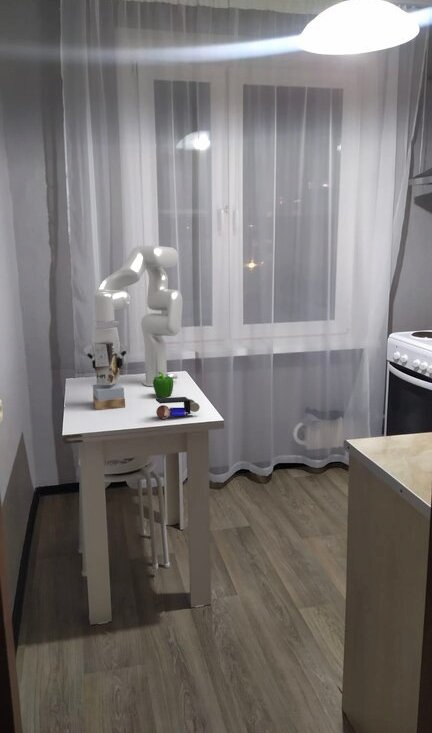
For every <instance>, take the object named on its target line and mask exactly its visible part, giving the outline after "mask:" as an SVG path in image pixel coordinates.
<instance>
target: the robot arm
mask: <svg viewBox="0 0 432 733" xmlns="http://www.w3.org/2000/svg"><path fill="white" fill-rule="evenodd" d="M178 263H179V253H178V251H177V250H176V249H175V247H170V246H163V245H162V246H161V245H138V246H135V247H134V248H132V250H131V252H130V254H129V255H128V257H127V259H126V260H125V261H124V263H123V265H122V267H121V268H120V269H118V270H116V271H115V272H113V273H112V274H110V275H109V276H107V277H105V279H104V280H103V281H102V282H101V283H100V285H98V287H97V289H96V291H95V293H94V294H93V297H92V298H93V300H92V301H93V312H94V314H93V315H94V328H93V330H92V336H91V337H92V339H91V340H92V344H89V345H88V346H87V347H85V348H84V349H83V352H84V353H85V354H86V356H87V357H88V358H89V359H90V360H91V361H92V362H91V363H92V369H94V371H95V372H96V365H95V345H94V344H100V343H113V348H114V354H117V355H118V368H119V370H120V369H122V366H123V357H124V356H125V355H126V354H127V352H128V350H129V349H130V348H129V346H128V345H127V344H124V343H122V342H120V337H119V331H118V327H117V325H118V326H119V325H120V323H119V320H116V319H115V318H116V317H115V310H119V311H120V310H126V309H127V308H128V307H129V306H130V304H131V296H130V294H129V293H128V292H127V291H125V290H123V288H126V287H130V286H132V285H134V284H136V283H138V282H139V281H140V279H141V277H142V276H143V274H144V272H145V270H146V272H147V275H148V289H147V296H146V304H147V307H148V309H149V310H151V311H156V312H157V311H159V312H167V313H151V312H150V313H147V314H145V315H144V316H143V317H142V318H141V322H140V326H141V331H142V336H143V343H144V344H143V347H144V349H143V350H144V370H145V379H144V380H142V382H141V383H142V385H143V386H145V387H153V388H154V386H153V380H154V377H159V376H162V375H161V374H159V372H162V373H163V374H164V377H167V376H170V377H171V378H172V379H173V380H174V379H175V380H176V379H178V374H177V373H176V374H175V373H168V370H167V369H168V368H167V345H166V342H165V339H164V337H175V336H177V335H178V334H179V332H180V330H181V323H182V315H183V305H184V304H183V296H182V293H181V292H180V291H179V290H177V289H170V288H169V287H168V286H169V277H168V275H167V274H168V273H167V272H166V271H165V268H168V269H169V268H174V267H175V266H177V265H178ZM168 288H169V289H168ZM121 348H123V351H121ZM90 350H92V351H93V354H91V352H90Z"/></svg>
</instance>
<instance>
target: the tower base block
mask: <svg viewBox="0 0 432 733" xmlns="http://www.w3.org/2000/svg"><path fill="white" fill-rule="evenodd" d="M125 400H126V398H125V397H124V398H118V399H110V400H102V401H98V400H97V399H96V397H95V396H94V395H93V394H92V402H93V406H94V408H95V410H96V411H106V410H113V409H114V410H115V409H124V408H126V401H125Z"/></svg>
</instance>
